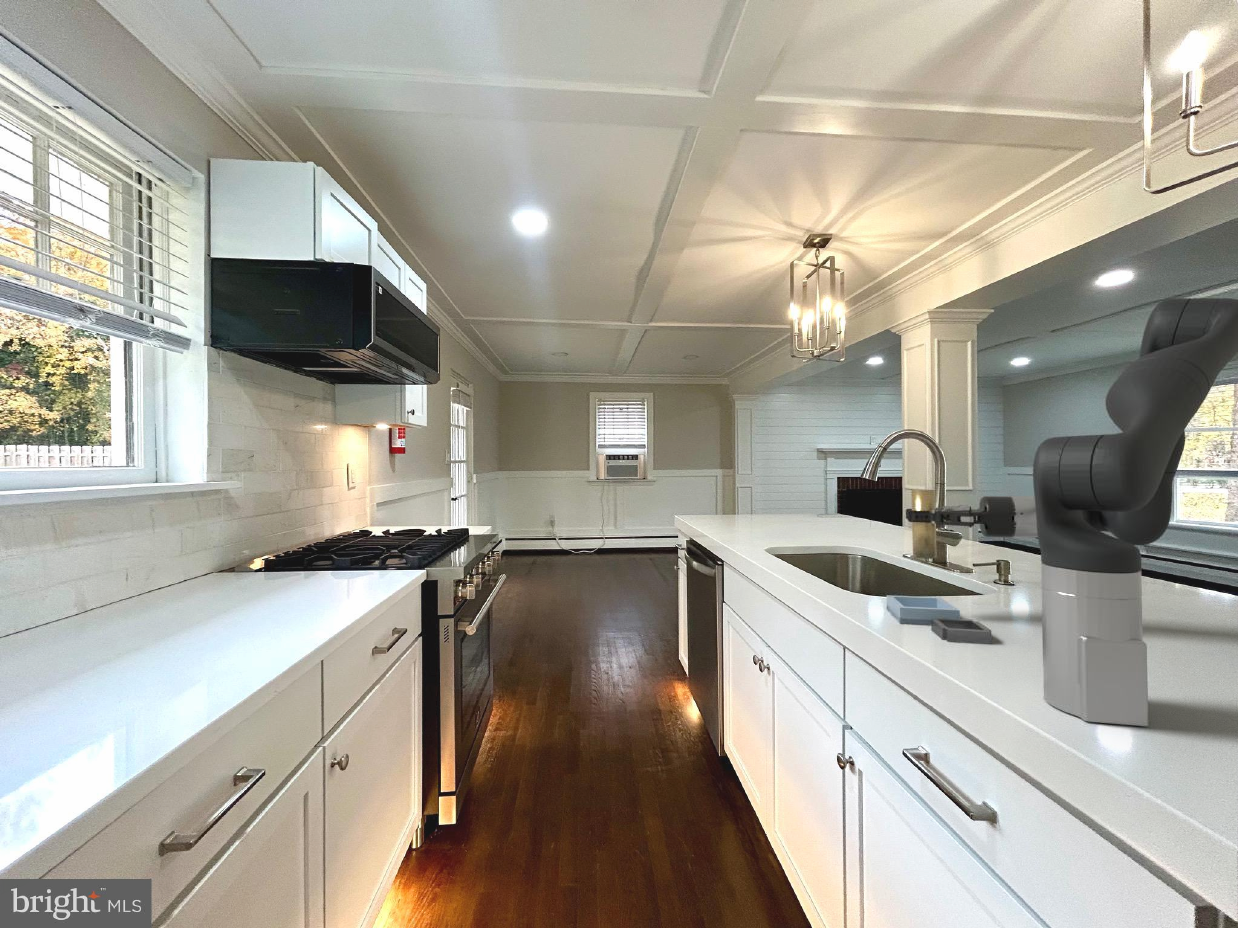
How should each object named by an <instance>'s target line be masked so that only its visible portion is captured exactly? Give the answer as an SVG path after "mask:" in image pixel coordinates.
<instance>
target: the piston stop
mask: <svg viewBox="0 0 1238 928" xmlns="http://www.w3.org/2000/svg"><path fill="white" fill-rule="evenodd" d="M910 493H911V509H912V510H916V511H930V513H931V510H935V508H936V489H911V491H910ZM911 529H912V532H911V534H912V557H913V558H917V559H923V560H924V559H926V560H929V559H931V560H932V559H937V558H938V556H937V524H933V523H931V521H930V523H925V522H911Z"/></svg>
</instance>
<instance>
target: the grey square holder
mask: <svg viewBox="0 0 1238 928" xmlns="http://www.w3.org/2000/svg"><path fill="white" fill-rule="evenodd" d="M930 626H931V631H932V633H934V634H935V635H936V636H937V637H939V639H941V640H944V641H946V642H948V643H951V642H952V643H963V644H964V643H966V644H968V643H969V644H980V645H982V644H983V645H991V644H992V629H990V628H988V627H987V626H986V625H984V624H983V623H981V622H979V620H978V621H977V620H974V619H968V618H967V619H966V618H964V619H963V618H960V619H949V618H933V619H931V625H930Z"/></svg>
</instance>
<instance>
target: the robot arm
mask: <svg viewBox="0 0 1238 928" xmlns="http://www.w3.org/2000/svg"><path fill="white" fill-rule="evenodd" d="M1139 350H1140V351H1139V356H1138V358H1137V359H1136V360H1134V361H1133V362H1132V363H1130V364H1129V365H1127V367H1126V368H1124V370H1123V371H1122V372H1121V373H1120V374H1119V376H1118V377H1117V378H1116V379H1115V381H1114V382H1113V383H1112V385H1111V386H1110V388H1109V389H1108V392H1107V394H1106V396H1105V400H1104V401H1105V409H1106V412H1107V414H1108V417H1109V418H1110V419H1111V420H1110V421H1112V422H1113V424H1114V425H1115V427H1117V428H1118V429H1119V430H1120V431H1121V432H1118V433H1112V434H1111V433H1109V434H1108V433H1107V434H1106V433H1105V434H1090V435H1089V434H1087V435H1068V436H1057V437H1056V436H1055V437H1050V438H1047V439H1045V440H1043V441H1042V442H1041V443H1040V444H1039V446H1038V447H1037V449H1036V451H1035V453H1034V458H1033V463H1032V483H1033V484H1032V485H1033V493H1034V494H1033V495H1034V497H1033V496H991V495H990V496H987V495H985V496H983V497H980V498H981V499H980V500H979V507H978V508H976V509H974V508H973V509H972V506H970V505H968V504H967V505H966V504H964V505H962V504H959V505H958V506H956V505H955V506H954V505H951V506H949V505H943V506H941V507H935V510H931V513H930V511H916V510H912V508H907V509H905V519H906V520H907V521H908V522H909V523H912V522H925V523H930V521H931V523H933V524H936V526H937V525H938V526H946V527H960V528H966V529H967V528H972V527H974V526H975V525H979V529H980V532H981V534H982V536H984V537H986V538H1012V539H1013V538H1016V539H1035V538H1037V540H1038V541H1037V542H1038V544H1039V545H1038V546H1039V550H1040V561H1041V565H1040V566H1041V567H1040V568H1041V569H1040V570H1041V571H1040V572H1041V577H1040V578H1041V587H1040V588H1041V623H1042V624H1041V626H1042V627H1041V632H1042V633H1041V634H1042V640H1041V641H1042V667H1043V669H1042V671H1043V672H1042V673H1043V674H1042V676H1043V677H1042V678H1043V700H1045V702H1047V703H1048V704H1049V705H1050V706H1052V707H1054V708H1055V709H1058V710H1059V711H1063V712H1065V713H1067V714H1070V715H1072V716H1076V717H1078V718H1080V719H1082V720H1083V721H1085V722H1090V723H1101V724H1102V723H1104V724H1113V725H1114V724H1116V725H1126V726H1127V725H1128V726H1139V727H1149V693H1148V692H1149V690H1148V689H1149V688H1148V683H1149V682H1148V646H1147V644H1146V642H1145V641H1144V640H1143V634H1144V633H1143V600H1142V597H1143V593H1142V592H1143V591H1142V588H1143V587H1142V585H1143V584H1142V568H1143V567H1142V554H1141V551H1140V549H1139V548H1138V547H1137V546H1147V545H1150V544H1153V543H1154V542H1156V541H1158V540H1159V539H1160V538H1161V537H1162V536H1163V535H1164V534H1165V532H1166V531H1167V529H1168V526H1169V523H1170V521H1171V516H1172V515H1171V514H1172V503H1173V481H1174V479H1175V476H1176V473H1177V470H1178V468H1179V465H1180V462H1181V459H1182V455H1183V453H1184V448H1185V445H1186V433H1185V432H1186V431H1185V430H1186V428H1187V427H1188V425H1189V423H1190V422H1191V421H1192V419H1193V418H1194V417H1195V415H1196V414H1197V413H1198V411H1199V409H1200V408H1201V406H1202V405H1203V403H1204V401H1205V400H1206V399H1207V397H1208V394H1209V392H1210V391H1211V388H1212V387H1213V385H1214V383H1215V381H1216V379H1217V378H1218V376H1219V374H1220V373H1221V371H1223V369H1224V368H1225V367H1226V366H1227V365H1228V364H1229V363H1230V361H1232V360H1233V358H1234V357H1235V356H1236V355H1237V354H1238V298H1230V297H1228V298H1227V297H1225V298H1220V297H1217V298H1215V297H1209V298H1206V297H1205V298H1204V297H1203V298H1201V297H1199V298H1198V297H1195V298H1194V297H1191V298H1190V297H1188V298H1187V297H1186V298H1185V297H1182V298H1181V297H1179V298H1178V297H1175V298H1166V299H1164V300H1161V301H1160V302H1158V303H1157V304H1156V306H1155V307H1154V308H1153V309H1152V311H1151V313H1150V315H1149V316H1148V319H1147V322H1146V325H1145V327H1144V331H1143V335H1142V340H1141V344H1140V349H1139ZM1105 532H1106V533H1111V534H1112V535H1113V536H1111V535H1109V534H1106V533H1105Z"/></svg>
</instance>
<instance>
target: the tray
mask: <svg viewBox="0 0 1238 928" xmlns="http://www.w3.org/2000/svg"><path fill="white" fill-rule="evenodd" d="M887 610H888V611H887ZM886 611H887V612H888V613H889V612H890V613H891V614H890V613H889V614H890V615H891V616H892V617H893V618H894V619H895V620H896V622H898V623H899V624H900V625H919V626H921V625H922V626H931V619H933V618H949V619H961V615H960V614H961V610H960V609H959V608H957V607H955V606H954V605H952V604H951V603H950V602H948V601H946V600H945V599H944V598H942V597H937V596H935V597H934V596H917V595H916V596H915V595H914V596H911V595H910V596H909V595H892V594H891V595H888V594H887V595H886Z"/></svg>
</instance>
